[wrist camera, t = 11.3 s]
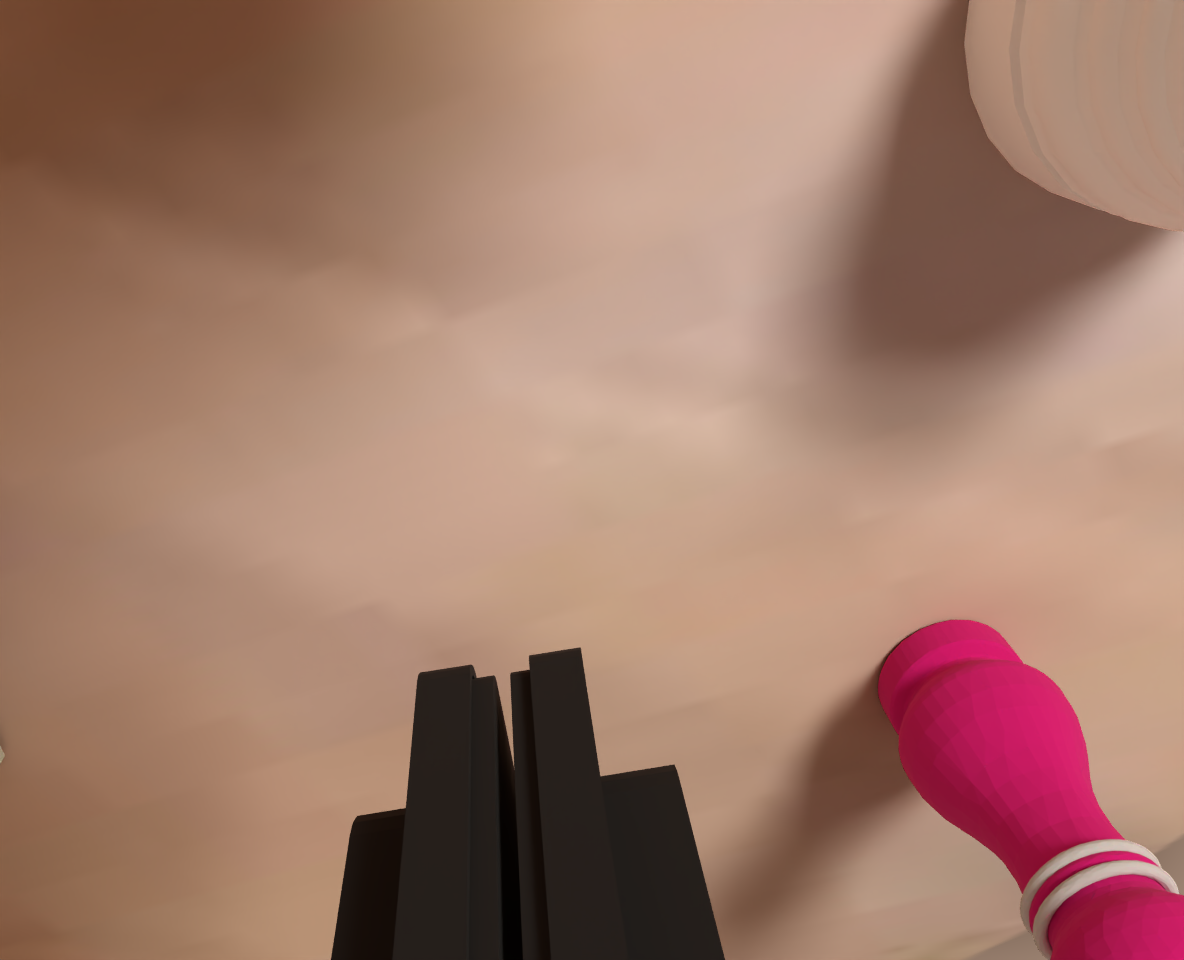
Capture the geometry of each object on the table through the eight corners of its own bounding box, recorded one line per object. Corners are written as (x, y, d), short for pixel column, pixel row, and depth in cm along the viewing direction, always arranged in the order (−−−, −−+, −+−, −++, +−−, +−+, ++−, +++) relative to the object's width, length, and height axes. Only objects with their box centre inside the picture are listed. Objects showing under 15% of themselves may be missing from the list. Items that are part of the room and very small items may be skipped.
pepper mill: (1038, 695, 47) (1382, 1133, 29) (895, 759, 48) (1144, 1222, 30) (995, 582, 44) (1352, 995, 26) (843, 652, 45) (1087, 1099, 27)
